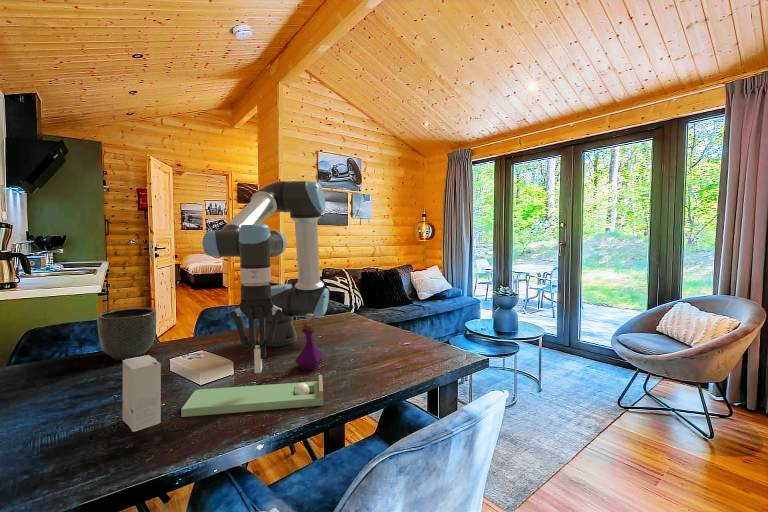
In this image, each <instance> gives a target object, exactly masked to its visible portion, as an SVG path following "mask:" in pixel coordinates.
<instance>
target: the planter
mask: <svg viewBox="0 0 768 512" xmlns="http://www.w3.org/2000/svg"><path fill="white" fill-rule="evenodd" d="M96 321H97V333H98V338H99V339H98V340H99V343H100V346H101V348H102V350H103V352H104V353H105V354H107V355H108V356H110V357H112V358H113V360H114V359H117V360H123V359H130V358H135V357H139V356H141V355H143V354H144V355H146V352H147V351H148V350H149V349H151V347H152V346H153V345H154V341H155V338H156V335H157V334H156V333H157V321H158V320H157V310H156V309H154V308H151V307H149V308H148V307H145V308H144V307H137V308H124V309H123V308H122V309H117V310H111V311H107V312H102V313H100V314H98V315H97V319H96ZM144 355H143V356H144ZM117 360H116V361H117Z"/></svg>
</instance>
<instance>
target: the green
mask: <svg viewBox="0 0 768 512" xmlns="http://www.w3.org/2000/svg"><path fill="white" fill-rule="evenodd" d="M323 381H324V379H323V374H318V380H317V381H316V380H315V381H303V382H287V383H275V384H273V383H271V384H262V385H261V384H259V385H246V386H244V385H243V386H233V387H232V386H231V387H219V388H218V387H217V388H203V389H195V390H194V391H193V392H192V393H191V395H190V396H189V398H188V399H187V401H186V402H185V404H183V406H182V407H181V409H180V415H181V416H180V417H181V418H187V417H198V416H208V415H209V416H210V415H211V416H212V415H222V414H233V413H246V412H259V411H260V412H261V411H271V410H279V409H280V410H281V409H282V410H283V409H293V408H294V409H295V408H307V407H319V406H324V385H323ZM300 383H305V384H307V385H308V386H309V390H310V391H309V394H306V395H295V392H294V391H295V387H296V386H297V385H298V384H300Z"/></svg>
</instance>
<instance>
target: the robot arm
mask: <svg viewBox="0 0 768 512" xmlns="http://www.w3.org/2000/svg"><path fill="white" fill-rule="evenodd" d="M325 211H326V198H325V193H324V189H323V187H322V185H321V184H320V183H319V182H318V181H312V180H311V181H310V180H298V181H297V180H295V181H290V180H289V181H288V180H287V181H284V180H283V181H282V180H281V181H274V182H271V183H269V184H267V185H265V186H263V187H262V188H259V189H258V190H257V191H256V192H255V193H253V195H251V197H250V202H248V203H247V204H246V205H245V206H244V207H243V208H242V209H241V210H240V211H239V212H238V213H236V215H234V217H233V218H231V220H229V222H227V223H226V224H225V225H224V226H223V227H222V228H220V230H217V229H213V230H209V231H206V232H205V233H204V235H203V237H202V243H201V245H202V249H203V251H204V253H205V255H207V256H209V257H217V258H239V277H240V283H241V286H240V302H239V304H238V305H239V306H238V307H237V308H235V309H232V310H231V311H230V316H231V318H232V319H233V320H234V322H235V326H236V329H237V333H238V335H239V336H238V337H239V339H240V343H241V345H242V347H243V348H245V347H247V348H249V358H250V360H251V361H254V374H260V373H262V370H263V360H265V359H266V356H267V350H266V349H267V348H268V347H269V348H270V347H271V348H272V347H273V348H274V347H275V348H276V347H277V348H278V347H284V346H289V345H292V344H295V343H296V342H297V338H298V337H297V336H298V335H297V332H296V329H295V326H294V324H293V318H296V317H297V318H306V314H315V315H314V318H322V317H323V316H325V314H326V312H327V309H328V306H329V300H330V289H328V288H327V287H325V282H323V281H322V280H321V271H320V269H321V267H320V251H319V250H320V249H319V248H320V247H319V229H318V227H319V225H318V221H319V220H320V219H321V217H322V214H323V213H325ZM275 213H289V215H290V216H289V218H290V219H291V220H292V221H293V222H294V235H295V247H296V248H295V249H296V267H297V282H296V283H295V284H294V287H293V285H292V284H290V283H284V284H278V285H277V284H276V285H272V284H271V281H272V266H271V258H276V257H278V256H280V255H281V254H282V253H284V252H285V250H286V248H287V244H288V243H287V239H286V237H285V235H284V234H283V233H281V232H279V231H277V230H270V226H269V224H266V223H264V224H263V222H265V220H266V219H267V218H268V217H271V216H273V215H274V214H275ZM242 313H243V314H244V316H246V318H247V319H248V334H247V331H246V327H245V325H244V324H245V323H244V321H243V318H242ZM256 320H258V327H259V329H258V331H259V332H258V333H259V334H258V340H257V339H256V338H257V337H256V335H257V334H256ZM257 341H258V345H257Z"/></svg>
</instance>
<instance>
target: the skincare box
mask: <svg viewBox="0 0 768 512" xmlns="http://www.w3.org/2000/svg"><path fill="white" fill-rule="evenodd" d="M121 362H122V421H123V422H124V423H125V424H126V425H127V426H128V427H129V429H130V430H131V432H133V433H134V432H138V431H141V430H144V429H147V428H150V427H153V426H156V425H159V424H161V423H162V421H161V415H162V413H161V411H162V410H161V408H162V407H161V405H162V403H161V398H162V397H161V395H162V394H161V391H162V390H161V384H162V381H161V379H162V378H161V377H162V376H161V375H162V371H161V368H162V366H161V365H162V364H161V362H159V361H157V359H156V358H155V357H152V356H151V355H149V354H147V355H146V354H144V355H143V356H140V357H135V358H130V359H125V360H122V361H121Z"/></svg>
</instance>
